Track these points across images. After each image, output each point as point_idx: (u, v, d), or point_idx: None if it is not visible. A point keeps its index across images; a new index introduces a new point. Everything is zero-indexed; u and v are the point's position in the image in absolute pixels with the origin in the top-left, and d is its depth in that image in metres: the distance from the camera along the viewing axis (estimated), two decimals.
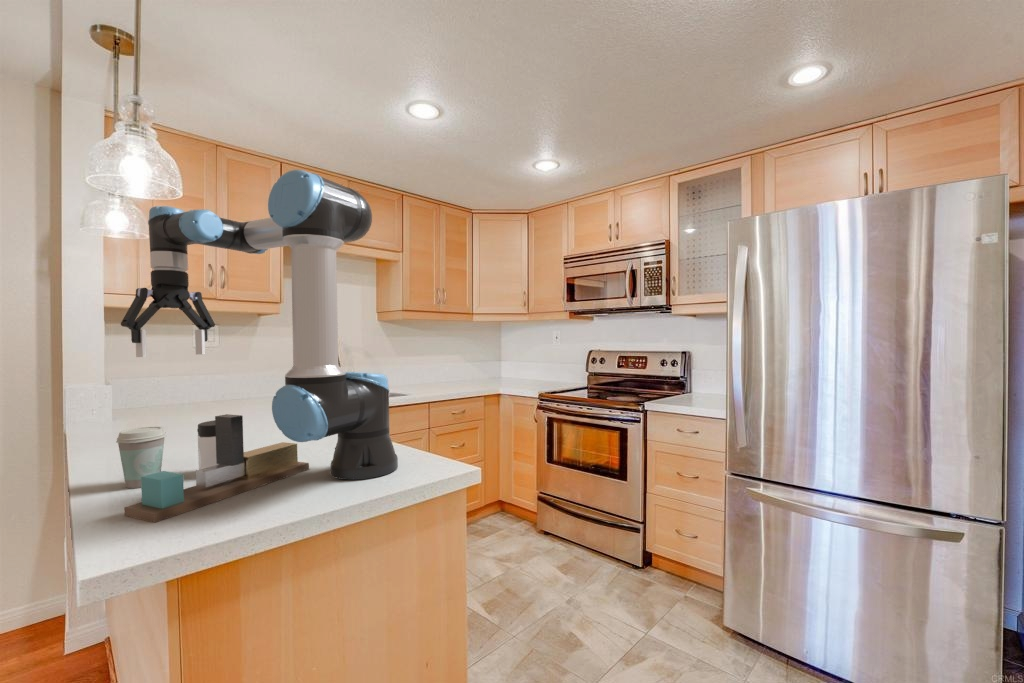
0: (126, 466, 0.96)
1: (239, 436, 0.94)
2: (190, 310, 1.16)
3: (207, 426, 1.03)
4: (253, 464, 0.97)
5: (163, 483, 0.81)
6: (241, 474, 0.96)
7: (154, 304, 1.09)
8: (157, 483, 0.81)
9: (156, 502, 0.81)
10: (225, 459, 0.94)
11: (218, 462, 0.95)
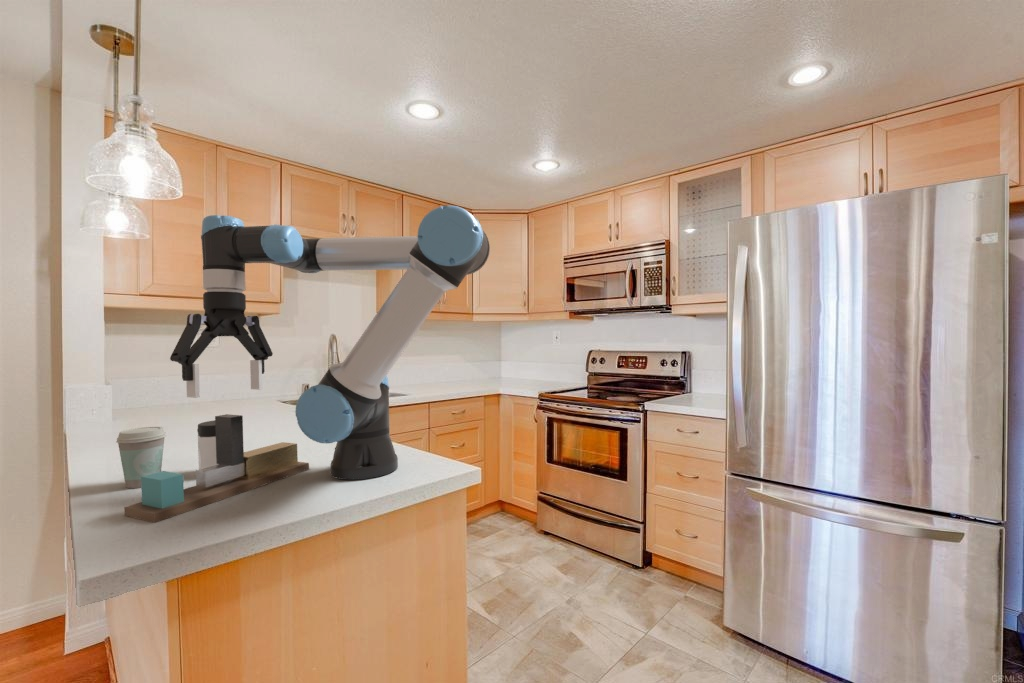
0: (126, 466, 0.96)
1: (239, 436, 0.94)
2: (247, 338, 0.98)
3: (207, 426, 1.03)
4: (253, 464, 0.97)
5: (163, 483, 0.81)
6: (241, 474, 0.96)
7: (208, 333, 0.91)
8: (157, 483, 0.81)
9: (156, 502, 0.81)
10: (225, 459, 0.94)
11: (218, 462, 0.95)
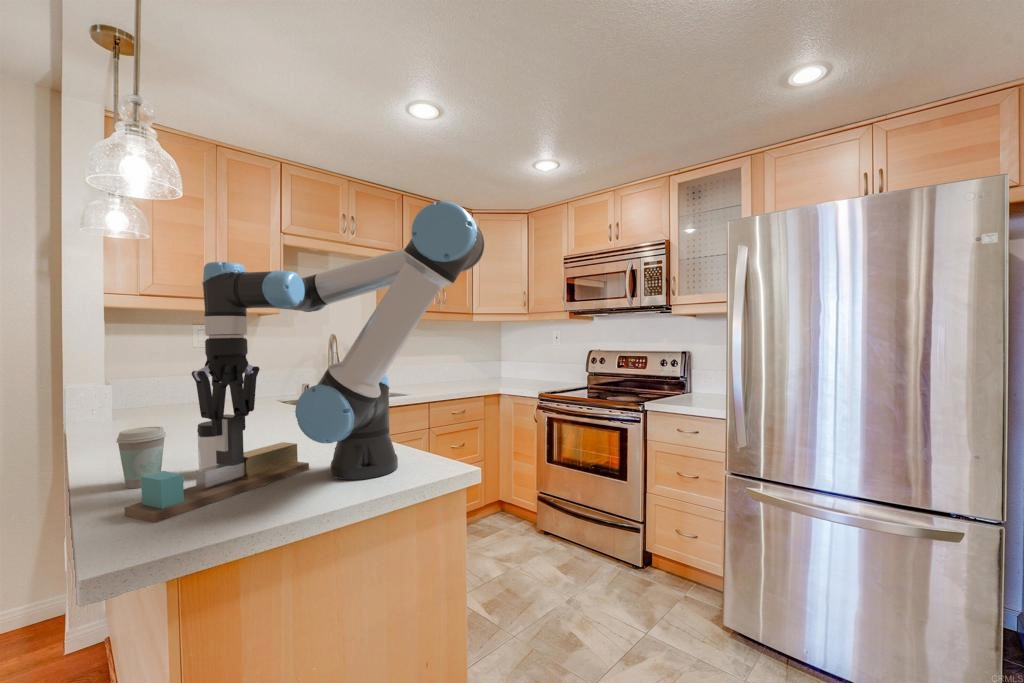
0: (126, 466, 0.96)
1: (239, 436, 0.94)
2: (239, 387, 0.96)
3: (207, 426, 1.03)
4: (253, 464, 0.97)
5: (163, 483, 0.81)
6: (241, 474, 0.96)
7: (218, 384, 0.93)
8: (157, 483, 0.81)
9: (156, 502, 0.81)
10: (225, 459, 0.94)
11: (218, 462, 0.95)
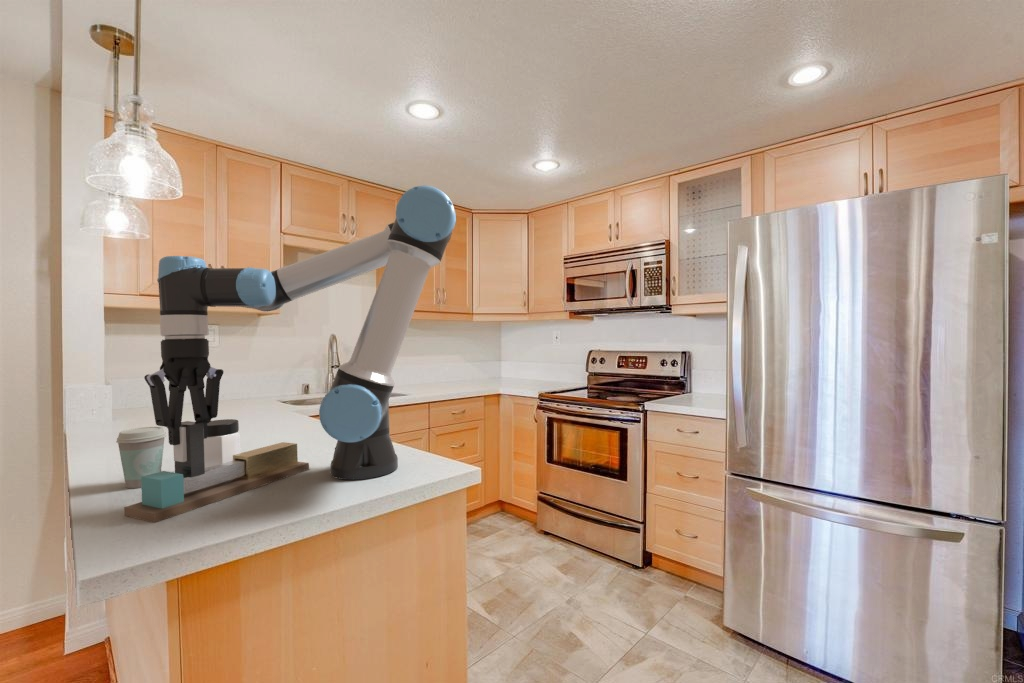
0: (126, 466, 0.96)
1: (199, 445, 0.87)
2: (199, 391, 0.89)
3: (207, 426, 1.03)
4: (253, 464, 0.97)
5: (163, 483, 0.81)
6: (202, 486, 0.88)
7: (175, 389, 0.85)
8: (157, 483, 0.81)
9: (156, 502, 0.81)
10: (184, 470, 0.86)
11: None
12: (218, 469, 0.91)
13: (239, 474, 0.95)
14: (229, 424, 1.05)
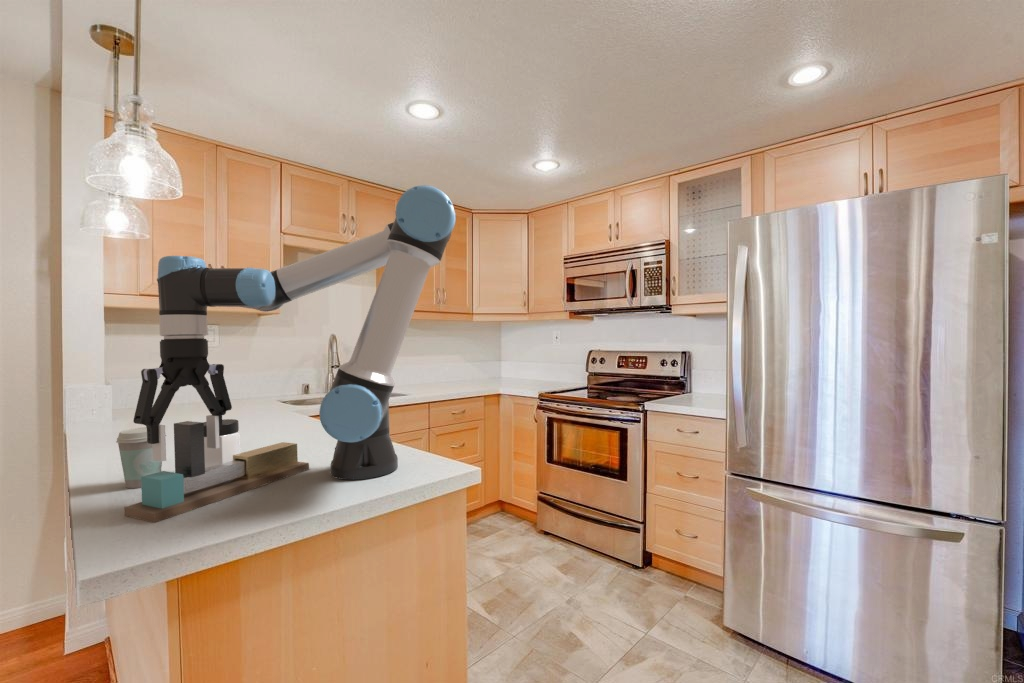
0: (126, 466, 0.96)
1: (199, 445, 0.87)
2: (206, 389, 0.90)
3: None
4: (253, 464, 0.97)
5: (163, 483, 0.81)
6: (202, 486, 0.89)
7: (168, 387, 0.84)
8: (157, 483, 0.81)
9: (156, 502, 0.81)
10: (184, 470, 0.87)
11: None
12: (218, 469, 0.91)
13: (239, 474, 0.96)
14: (229, 424, 1.05)
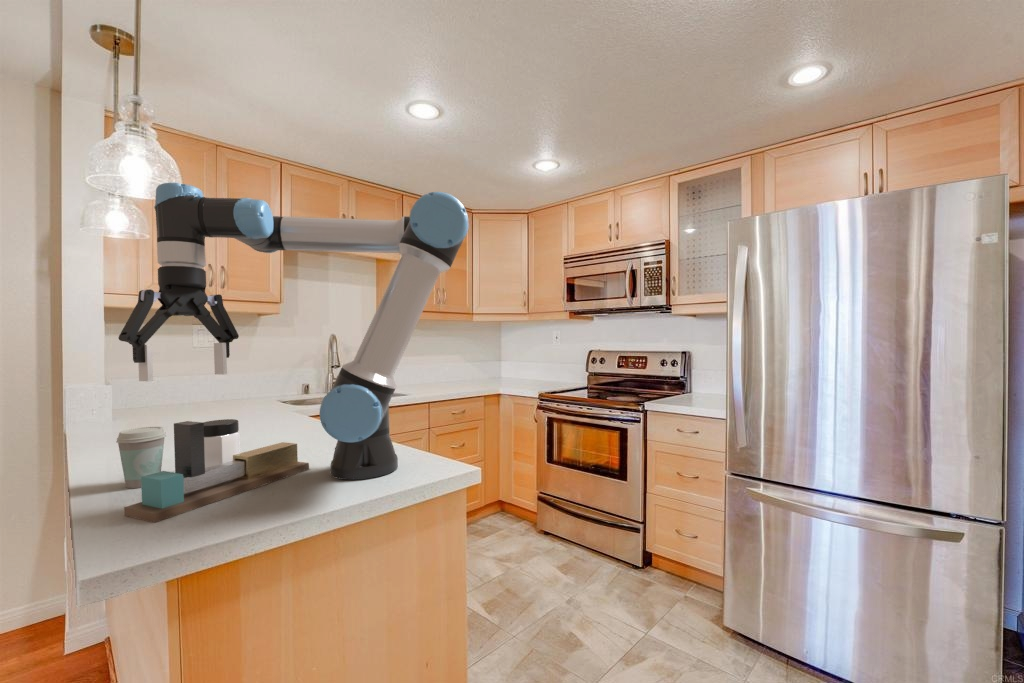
0: (126, 466, 0.96)
1: (199, 445, 0.87)
2: (208, 318, 0.90)
3: (207, 426, 1.03)
4: (253, 464, 0.97)
5: (163, 483, 0.81)
6: (202, 486, 0.89)
7: (162, 311, 0.83)
8: (157, 483, 0.81)
9: (156, 502, 0.81)
10: (184, 470, 0.87)
11: None
12: (218, 469, 0.91)
13: (239, 474, 0.96)
14: (229, 424, 1.05)
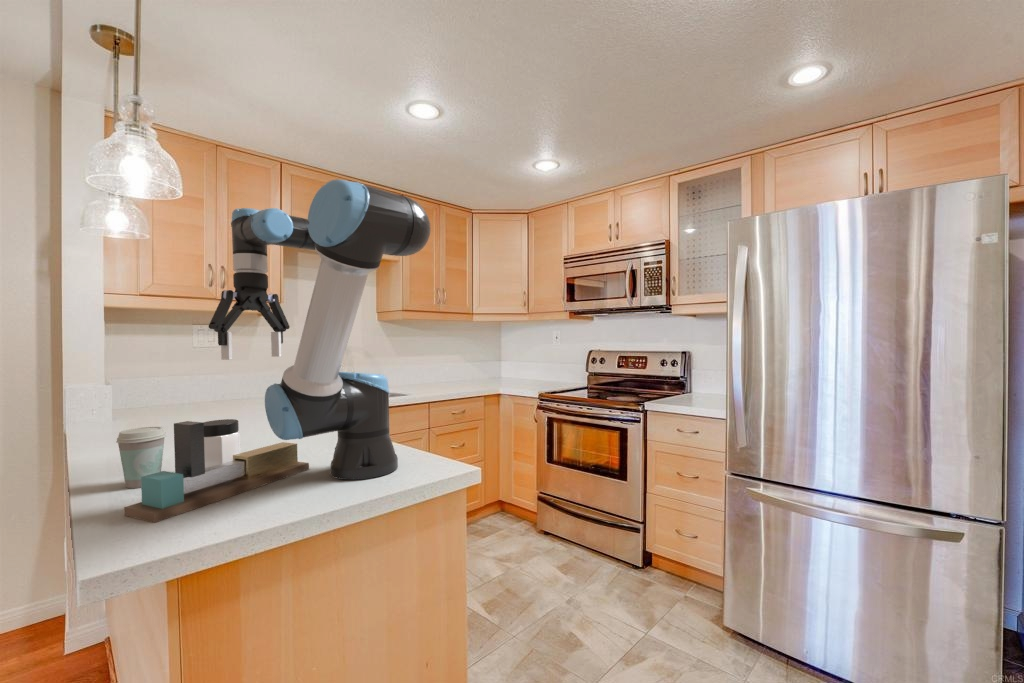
0: (126, 466, 0.96)
1: (199, 445, 0.87)
2: (269, 312, 1.16)
3: (207, 426, 1.03)
4: (253, 464, 0.97)
5: (163, 483, 0.81)
6: (202, 486, 0.89)
7: (238, 306, 1.09)
8: (157, 483, 0.81)
9: (156, 502, 0.81)
10: (184, 470, 0.87)
11: None
12: (218, 469, 0.91)
13: (239, 474, 0.96)
14: (229, 424, 1.05)
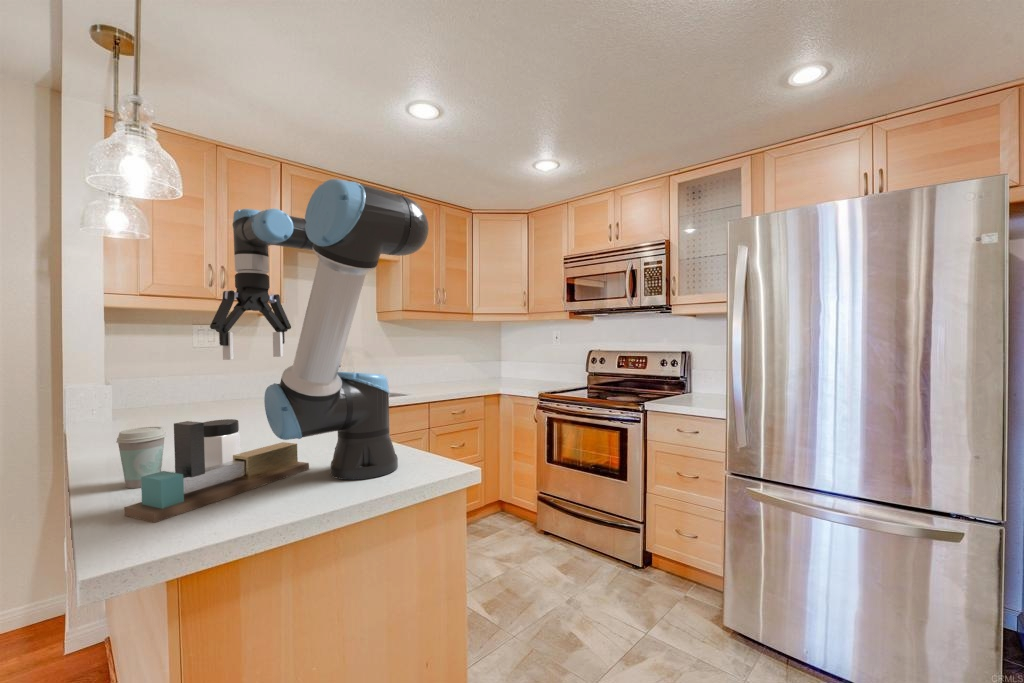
0: (126, 466, 0.96)
1: (199, 445, 0.87)
2: (270, 312, 1.17)
3: (207, 426, 1.03)
4: (253, 464, 0.97)
5: (163, 483, 0.81)
6: (202, 486, 0.89)
7: (239, 307, 1.10)
8: (157, 483, 0.81)
9: (156, 502, 0.81)
10: (184, 470, 0.87)
11: None
12: (218, 469, 0.91)
13: (239, 474, 0.96)
14: (229, 424, 1.05)
